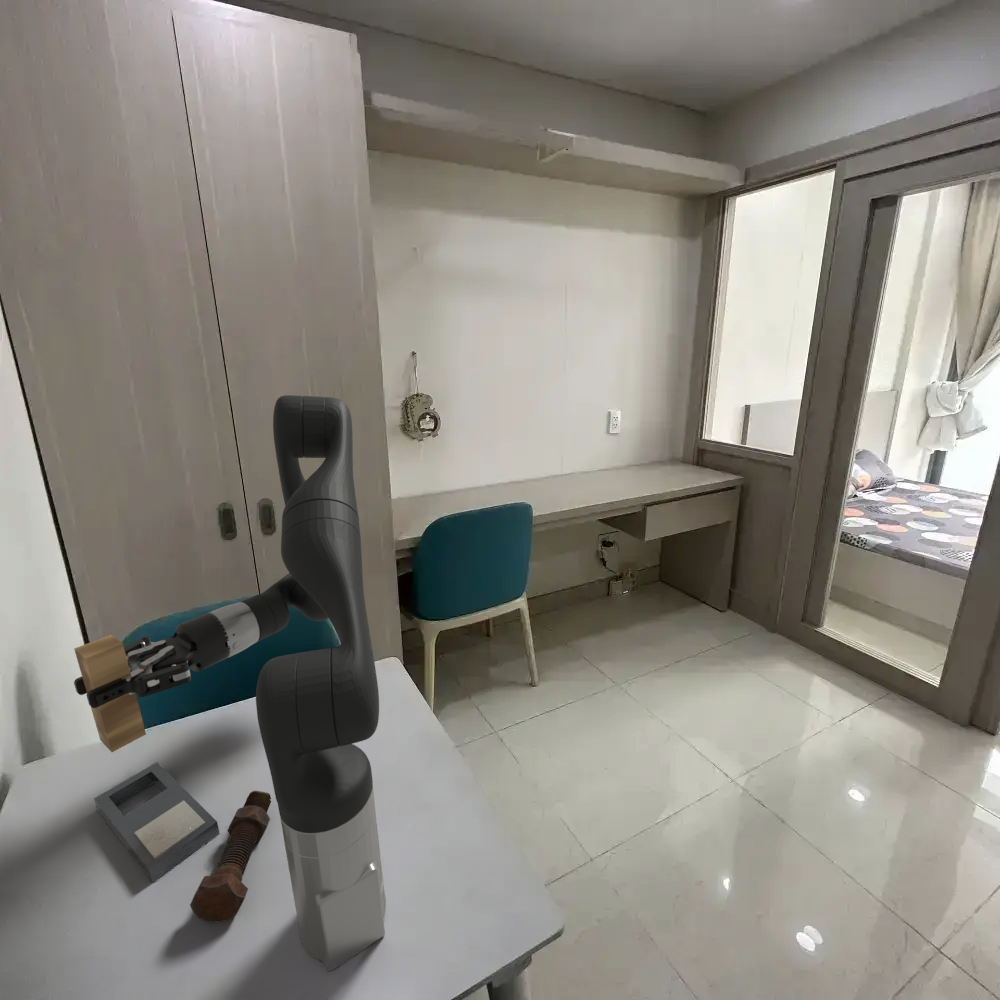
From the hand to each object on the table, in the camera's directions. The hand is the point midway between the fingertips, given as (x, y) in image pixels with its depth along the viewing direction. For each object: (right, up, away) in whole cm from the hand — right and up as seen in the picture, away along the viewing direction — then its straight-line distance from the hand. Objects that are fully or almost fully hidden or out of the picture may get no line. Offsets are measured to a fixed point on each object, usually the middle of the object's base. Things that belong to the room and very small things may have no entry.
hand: (83, 694), depth 65 cm
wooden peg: (+2, -8, +5) cm, 9 cm away
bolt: (+21, -21, 0) cm, 29 cm away
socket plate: (+6, -19, +5) cm, 21 cm away
